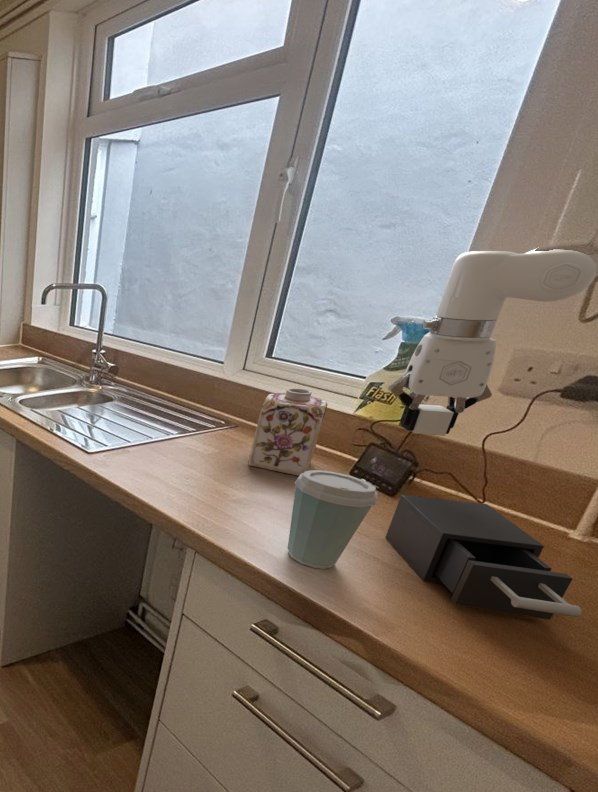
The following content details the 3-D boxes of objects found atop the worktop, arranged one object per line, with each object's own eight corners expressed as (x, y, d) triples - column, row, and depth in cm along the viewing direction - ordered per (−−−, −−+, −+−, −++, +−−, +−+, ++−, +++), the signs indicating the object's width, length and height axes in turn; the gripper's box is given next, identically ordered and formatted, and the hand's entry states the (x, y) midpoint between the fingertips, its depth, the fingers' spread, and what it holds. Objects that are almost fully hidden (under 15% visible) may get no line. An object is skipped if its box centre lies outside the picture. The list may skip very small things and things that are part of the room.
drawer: (585, 650, 67) (611, 607, 64) (480, 632, 70) (501, 590, 67) (494, 569, 83) (512, 532, 80) (413, 558, 86) (427, 522, 83)
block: (432, 428, 97) (441, 405, 96) (444, 436, 94) (454, 412, 92) (403, 426, 99) (411, 403, 97) (414, 433, 95) (422, 410, 93)
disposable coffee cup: (272, 536, 95) (294, 460, 89) (346, 551, 90) (373, 471, 84) (277, 567, 86) (302, 484, 80) (359, 584, 81) (391, 498, 75)
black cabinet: (519, 595, 78) (544, 546, 75) (423, 580, 82) (443, 533, 79) (467, 548, 90) (487, 504, 87) (385, 537, 94) (401, 494, 90)
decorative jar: (311, 462, 125) (333, 388, 118) (306, 478, 117) (329, 400, 110) (254, 451, 132) (271, 381, 125) (245, 465, 124) (263, 391, 117)
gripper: (410, 330, 89) (376, 432, 96) (541, 334, 83) (495, 442, 90) (391, 324, 95) (360, 419, 102) (512, 327, 90) (471, 428, 97)
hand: (424, 429), depth 96 cm, fingers closed on block, 4 cm apart
